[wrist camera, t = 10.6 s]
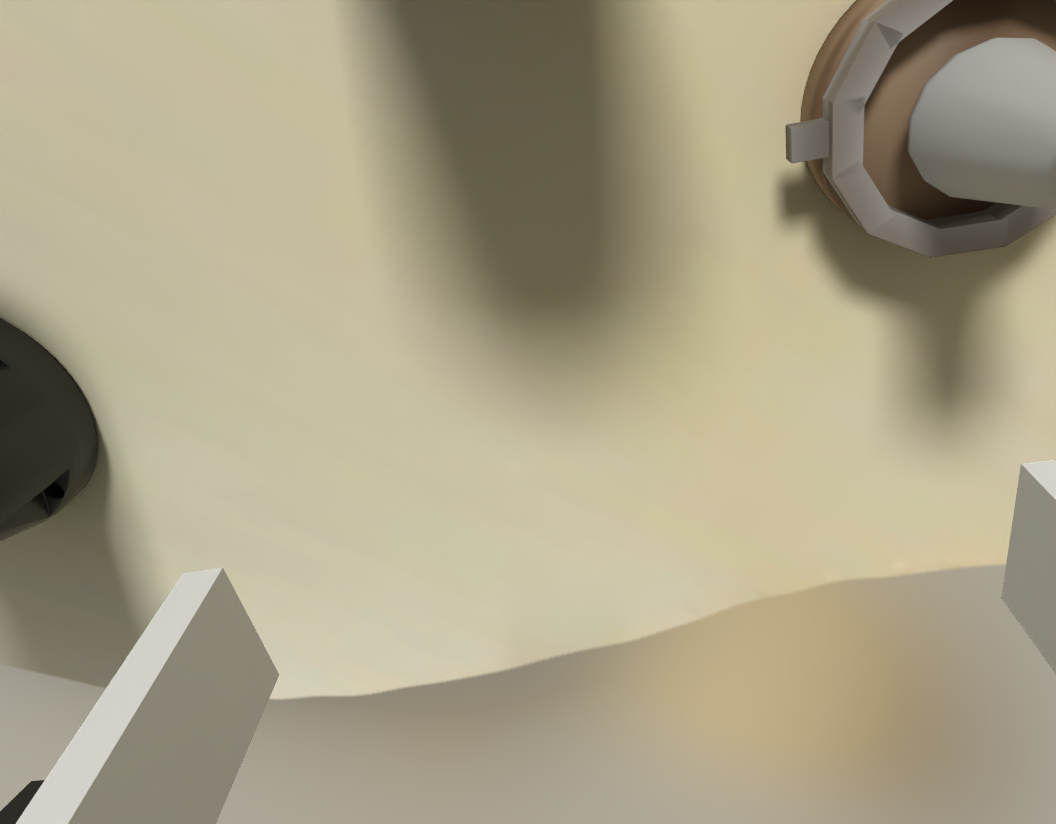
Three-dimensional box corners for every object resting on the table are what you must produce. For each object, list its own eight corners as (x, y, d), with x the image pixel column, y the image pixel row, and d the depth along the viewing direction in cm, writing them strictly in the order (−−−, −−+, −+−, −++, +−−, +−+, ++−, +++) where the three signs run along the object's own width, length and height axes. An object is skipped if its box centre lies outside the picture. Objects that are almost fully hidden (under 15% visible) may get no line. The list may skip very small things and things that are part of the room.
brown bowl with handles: (774, 251, 37) (796, 281, 33) (766, -12, 31) (791, -12, 27) (1087, 202, 34) (1149, 228, 31) (1137, -91, 29) (1222, -104, 25)
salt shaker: (943, 211, 32) (1131, 328, 21) (858, 122, 31) (1012, 196, 19) (1069, 102, 30) (1359, 167, 19) (984, -2, 28) (1243, 2, 17)
